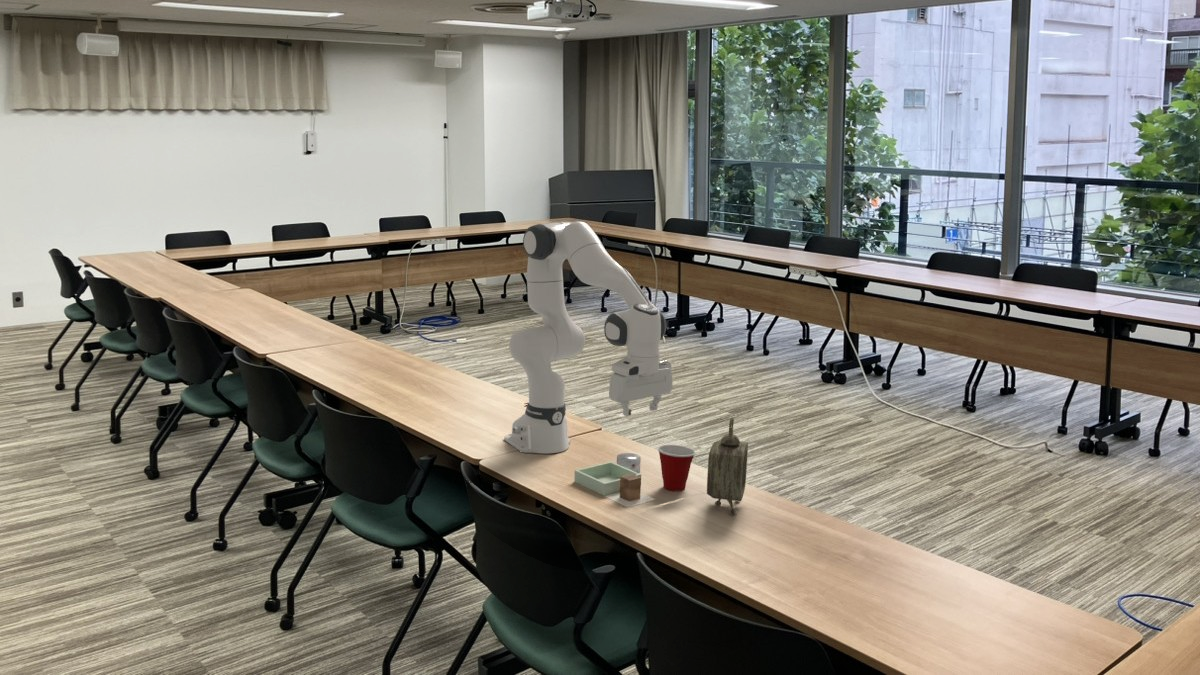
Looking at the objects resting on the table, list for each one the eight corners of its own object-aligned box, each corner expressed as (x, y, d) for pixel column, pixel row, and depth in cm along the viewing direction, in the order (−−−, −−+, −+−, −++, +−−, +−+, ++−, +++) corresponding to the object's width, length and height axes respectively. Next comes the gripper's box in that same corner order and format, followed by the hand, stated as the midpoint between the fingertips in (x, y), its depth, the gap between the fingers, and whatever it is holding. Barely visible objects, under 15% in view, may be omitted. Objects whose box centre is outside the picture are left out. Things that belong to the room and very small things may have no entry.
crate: (574, 483, 292) (574, 470, 291) (610, 474, 300) (611, 461, 299) (604, 497, 282) (604, 483, 281) (640, 487, 290) (641, 474, 289)
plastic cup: (702, 491, 288) (704, 450, 286) (672, 498, 282) (674, 457, 280) (677, 480, 297) (678, 440, 295) (647, 487, 291) (649, 446, 288)
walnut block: (619, 497, 281) (620, 476, 279) (630, 494, 283) (631, 473, 282) (629, 501, 278) (629, 480, 276) (640, 498, 280) (640, 477, 279)
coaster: (604, 498, 281) (604, 496, 281) (631, 490, 287) (631, 488, 287) (627, 509, 274) (627, 507, 273) (655, 501, 280) (655, 499, 280)
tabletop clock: (739, 518, 269) (744, 427, 264) (704, 514, 271) (709, 424, 266) (744, 499, 283) (750, 412, 278) (712, 496, 285) (716, 409, 280)
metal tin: (611, 472, 302) (611, 455, 301) (629, 467, 307) (629, 451, 306) (626, 478, 297) (627, 462, 296) (644, 474, 302) (645, 457, 300)
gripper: (663, 356, 287) (661, 404, 290) (606, 366, 275) (604, 415, 278) (679, 361, 282) (676, 409, 286) (621, 371, 270) (619, 421, 273)
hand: (640, 412), depth 282 cm, fingers open, 8 cm apart
